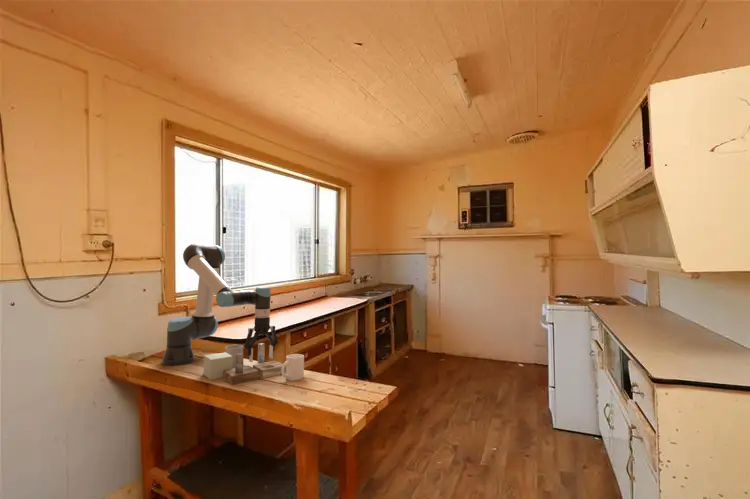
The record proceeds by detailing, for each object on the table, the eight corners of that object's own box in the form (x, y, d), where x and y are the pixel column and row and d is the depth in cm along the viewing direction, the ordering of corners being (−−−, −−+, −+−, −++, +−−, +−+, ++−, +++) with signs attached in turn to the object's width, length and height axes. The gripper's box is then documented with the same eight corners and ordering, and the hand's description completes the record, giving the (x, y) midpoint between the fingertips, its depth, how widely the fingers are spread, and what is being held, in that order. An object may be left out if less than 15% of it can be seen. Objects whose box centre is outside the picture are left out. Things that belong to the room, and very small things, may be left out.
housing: (203, 374, 165) (204, 355, 165) (224, 370, 172) (225, 352, 172) (209, 379, 158) (210, 359, 158) (232, 375, 164) (232, 356, 165)
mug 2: (286, 384, 153) (287, 361, 153) (275, 380, 158) (275, 357, 158) (307, 377, 162) (307, 355, 163) (295, 374, 167) (296, 352, 168)
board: (223, 377, 160) (224, 352, 161) (248, 372, 168) (249, 349, 169) (232, 384, 152) (233, 358, 152) (258, 378, 160) (259, 353, 160)
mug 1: (231, 369, 174) (232, 349, 174) (219, 366, 178) (220, 346, 179) (249, 364, 183) (249, 345, 184) (237, 361, 188) (238, 343, 188)
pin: (256, 367, 178) (257, 343, 179) (262, 365, 180) (263, 342, 181) (259, 368, 175) (259, 344, 176) (265, 367, 178) (266, 343, 178)
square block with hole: (252, 371, 170) (252, 364, 170) (275, 367, 178) (275, 360, 178) (262, 377, 161) (263, 370, 161) (286, 372, 169) (286, 365, 169)
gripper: (243, 319, 169) (242, 365, 168) (285, 315, 184) (284, 357, 183) (237, 317, 174) (236, 362, 173) (279, 314, 190) (278, 354, 188)
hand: (261, 359), depth 178 cm, fingers open, 10 cm apart
